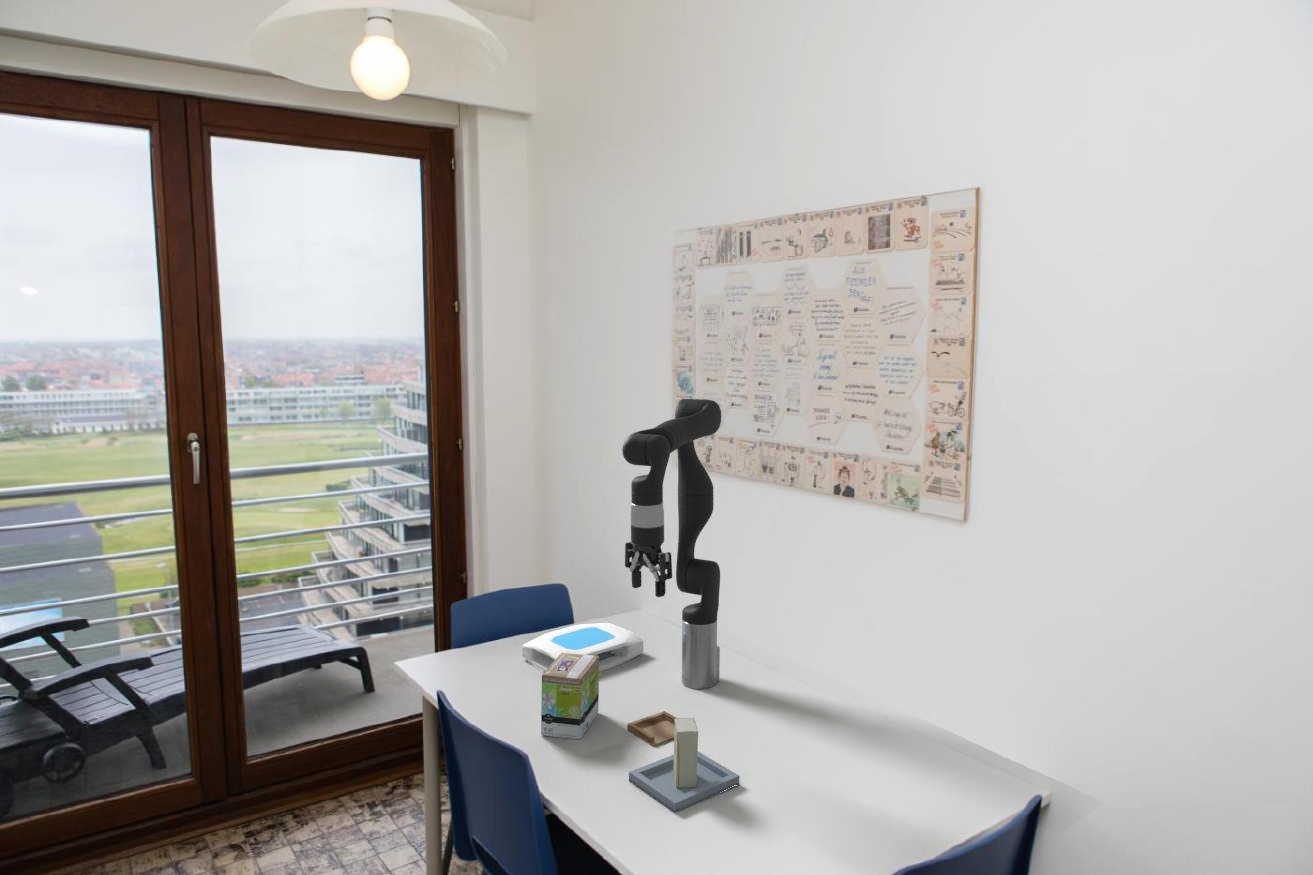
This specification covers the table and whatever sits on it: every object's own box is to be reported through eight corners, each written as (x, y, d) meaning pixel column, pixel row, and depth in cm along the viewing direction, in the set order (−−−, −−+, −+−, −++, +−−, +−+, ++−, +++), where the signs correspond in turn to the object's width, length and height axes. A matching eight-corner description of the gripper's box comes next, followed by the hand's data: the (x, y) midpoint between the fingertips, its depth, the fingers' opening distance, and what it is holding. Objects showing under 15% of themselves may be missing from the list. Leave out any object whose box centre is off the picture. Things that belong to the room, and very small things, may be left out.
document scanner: (521, 660, 240) (521, 639, 240) (599, 637, 259) (599, 618, 258) (565, 683, 225) (565, 660, 224) (644, 657, 243) (644, 636, 243)
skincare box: (673, 773, 177) (673, 717, 175) (694, 772, 177) (694, 716, 176) (675, 789, 170) (676, 731, 169) (697, 788, 171) (698, 730, 169)
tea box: (582, 740, 192) (581, 678, 190) (540, 736, 194) (539, 674, 192) (599, 712, 207) (599, 654, 205) (560, 708, 209) (559, 650, 207)
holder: (664, 717, 204) (664, 711, 204) (691, 733, 196) (691, 726, 196) (627, 730, 197) (627, 723, 197) (653, 746, 189) (653, 739, 189)
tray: (691, 756, 185) (691, 747, 185) (739, 784, 173) (739, 775, 173) (628, 781, 175) (628, 771, 174) (674, 813, 163) (674, 803, 163)
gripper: (680, 525, 187) (681, 596, 190) (641, 514, 198) (641, 581, 201) (654, 531, 183) (655, 603, 185) (615, 519, 194) (616, 587, 196)
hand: (648, 591), depth 193 cm, fingers open, 8 cm apart
